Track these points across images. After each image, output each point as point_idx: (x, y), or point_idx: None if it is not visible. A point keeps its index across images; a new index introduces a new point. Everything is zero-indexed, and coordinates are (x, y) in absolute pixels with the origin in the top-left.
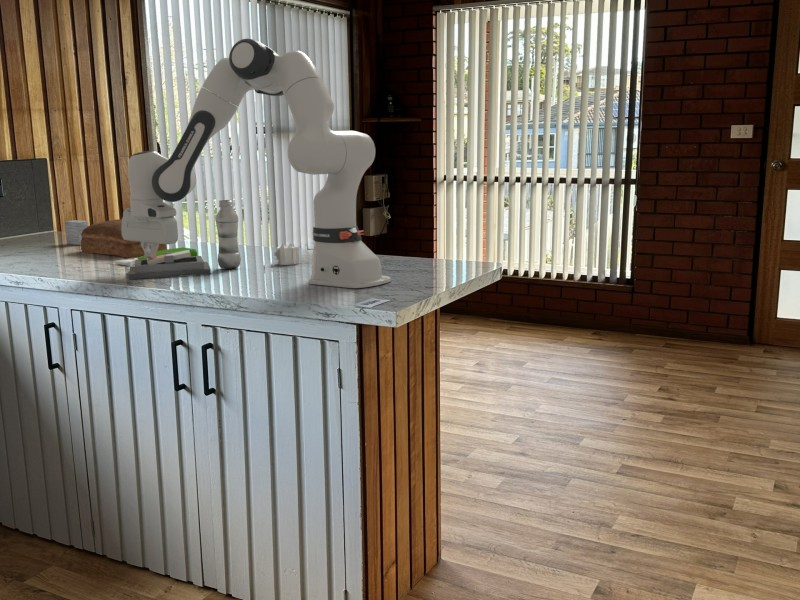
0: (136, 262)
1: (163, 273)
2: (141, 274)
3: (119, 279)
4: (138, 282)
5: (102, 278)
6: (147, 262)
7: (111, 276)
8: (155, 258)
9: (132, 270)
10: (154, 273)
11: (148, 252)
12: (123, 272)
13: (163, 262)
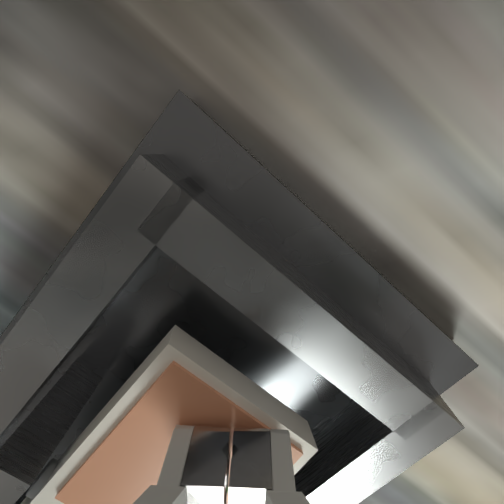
0: (338, 337)
1: (29, 301)
2: (117, 177)
3: (283, 70)
4: (6, 38)
5: (472, 32)
6: (168, 338)
7: (460, 145)
8: (143, 431)
9: (319, 253)
10: (61, 256)
11: (214, 481)
12: (488, 306)
13: None
